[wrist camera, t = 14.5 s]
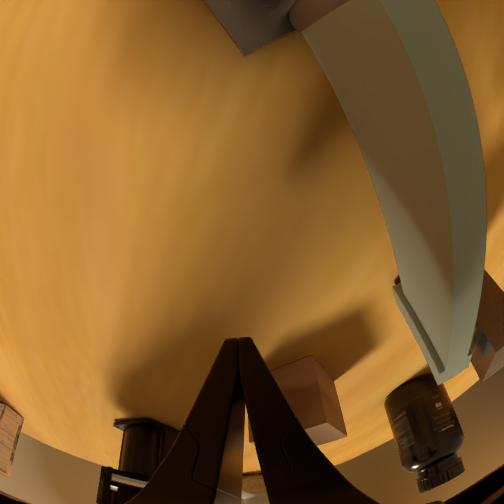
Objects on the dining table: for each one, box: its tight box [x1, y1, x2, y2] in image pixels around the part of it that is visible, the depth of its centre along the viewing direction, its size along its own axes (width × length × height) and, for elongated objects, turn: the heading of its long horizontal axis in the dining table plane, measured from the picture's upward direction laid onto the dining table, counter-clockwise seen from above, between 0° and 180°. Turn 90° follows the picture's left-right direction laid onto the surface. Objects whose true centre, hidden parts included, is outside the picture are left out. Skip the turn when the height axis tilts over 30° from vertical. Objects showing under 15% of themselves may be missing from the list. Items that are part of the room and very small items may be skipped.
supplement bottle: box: [384, 373, 465, 493], centre depth 18 cm, size 7×7×12 cm
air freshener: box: [242, 474, 270, 504], centre depth 41 cm, size 11×8×10 cm
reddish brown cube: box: [248, 355, 347, 446], centre depth 17 cm, size 5×5×5 cm
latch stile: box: [470, 269, 504, 382], centre depth 10 cm, size 2×4×7 cm
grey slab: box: [289, 0, 487, 385], centre depth 8 cm, size 15×2×6 cm, turn 30°
